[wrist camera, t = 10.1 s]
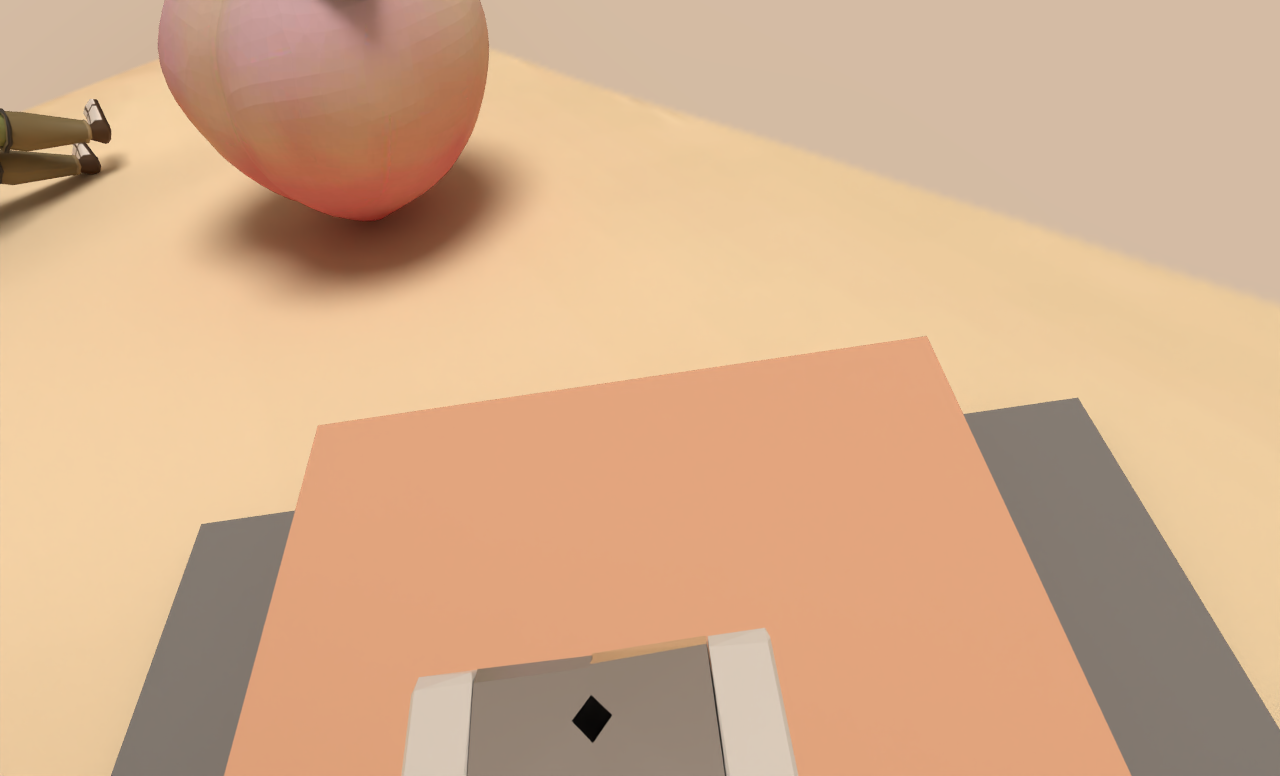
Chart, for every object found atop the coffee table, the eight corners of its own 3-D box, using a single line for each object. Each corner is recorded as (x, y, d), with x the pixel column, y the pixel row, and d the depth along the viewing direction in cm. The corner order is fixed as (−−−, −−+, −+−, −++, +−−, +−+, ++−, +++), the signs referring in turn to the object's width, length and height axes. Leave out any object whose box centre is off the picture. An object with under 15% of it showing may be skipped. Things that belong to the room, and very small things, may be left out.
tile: (141, 1081, 13) (317, 425, 23) (202, 1149, 14) (345, 497, 24) (1211, 946, 13) (926, 336, 22) (1185, 1025, 14) (926, 413, 23)
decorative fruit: (585, 190, 35) (519, -171, 29) (367, 322, 30) (235, -71, 24) (398, 130, 40) (310, -182, 34) (191, 233, 36) (49, -102, 30)
